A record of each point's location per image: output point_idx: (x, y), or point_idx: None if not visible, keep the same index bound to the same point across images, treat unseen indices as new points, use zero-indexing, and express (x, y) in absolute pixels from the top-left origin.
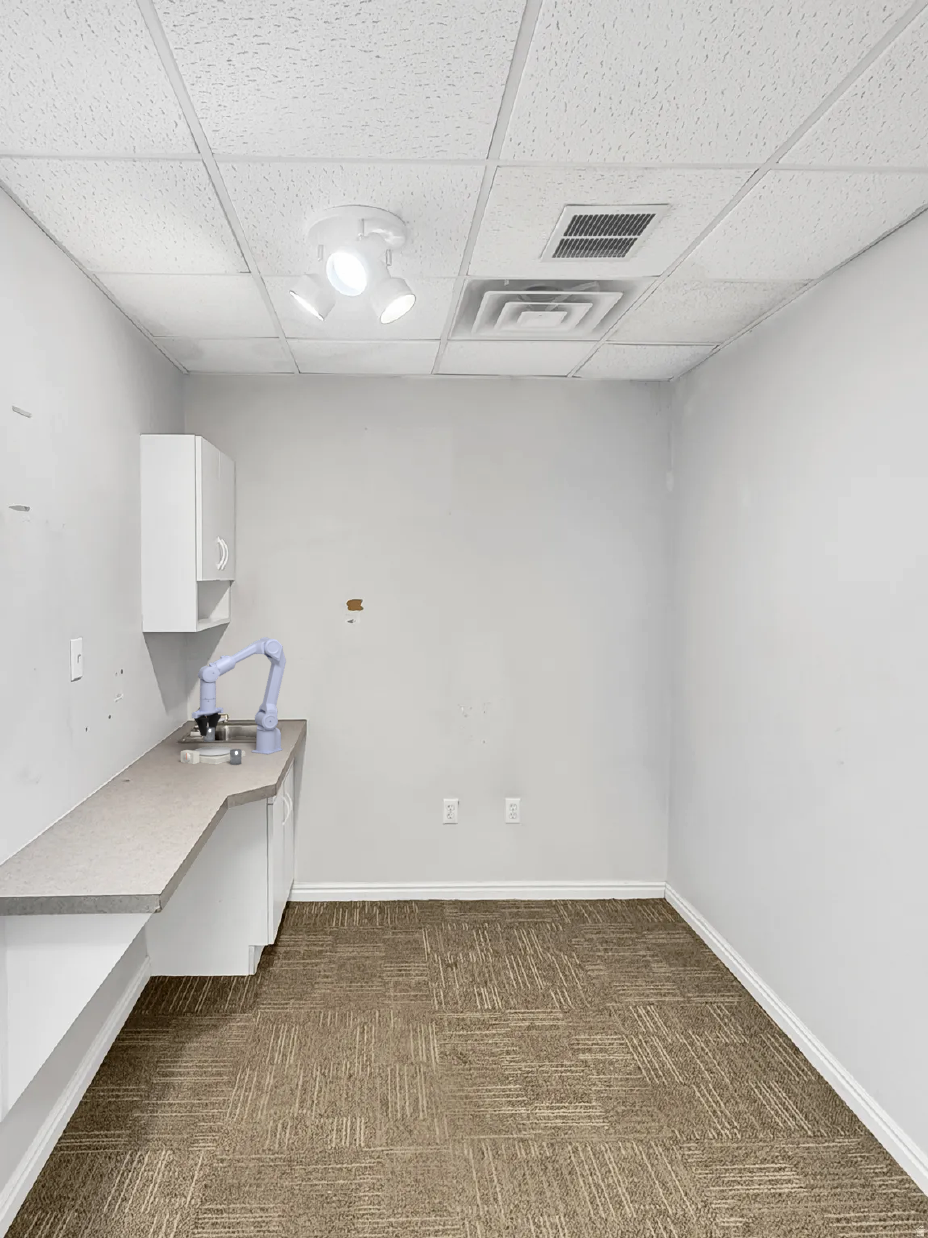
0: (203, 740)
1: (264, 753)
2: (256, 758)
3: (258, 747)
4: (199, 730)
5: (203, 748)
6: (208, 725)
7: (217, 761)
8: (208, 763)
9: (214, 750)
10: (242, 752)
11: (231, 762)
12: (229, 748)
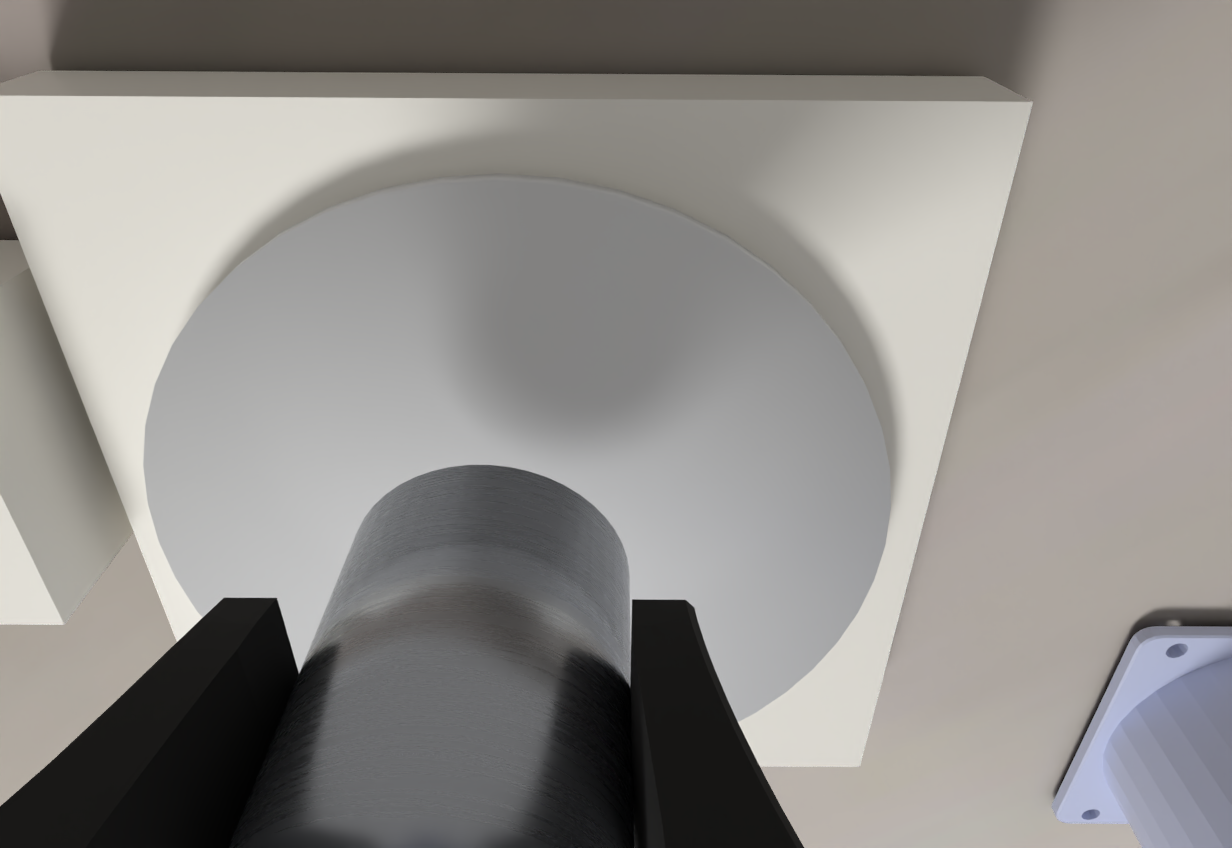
0: (369, 516)
1: (1062, 788)
2: (824, 807)
3: (1154, 774)
4: (96, 731)
5: (530, 289)
6: (658, 824)
7: None
8: None
9: None
10: (800, 758)
11: None
12: (792, 643)
